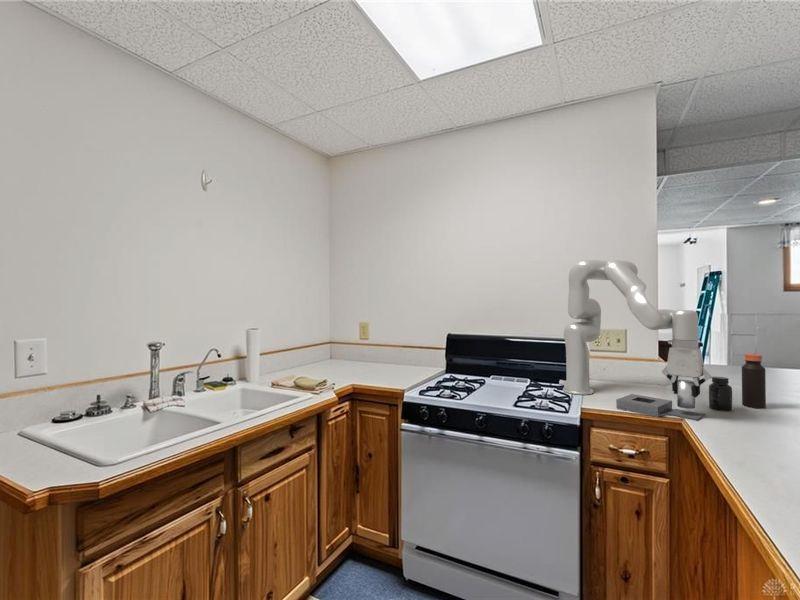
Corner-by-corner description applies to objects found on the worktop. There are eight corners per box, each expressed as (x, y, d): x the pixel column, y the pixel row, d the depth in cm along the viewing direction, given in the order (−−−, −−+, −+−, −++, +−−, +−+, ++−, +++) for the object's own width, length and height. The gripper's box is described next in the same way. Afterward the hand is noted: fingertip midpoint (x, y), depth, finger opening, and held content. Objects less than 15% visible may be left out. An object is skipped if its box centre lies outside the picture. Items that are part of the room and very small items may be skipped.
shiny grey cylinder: (675, 406, 139) (674, 380, 139) (680, 404, 143) (679, 378, 143) (692, 409, 135) (692, 383, 135) (697, 407, 138) (696, 381, 138)
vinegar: (770, 409, 145) (769, 356, 145) (749, 408, 147) (748, 355, 147) (757, 404, 152) (757, 353, 152) (737, 403, 153) (737, 353, 153)
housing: (616, 408, 148) (616, 399, 148) (631, 402, 157) (631, 393, 157) (657, 417, 137) (657, 407, 137) (672, 409, 146) (672, 400, 146)
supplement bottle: (736, 412, 142) (736, 379, 142) (715, 411, 144) (715, 379, 144) (725, 407, 149) (724, 376, 149) (705, 406, 150) (704, 375, 150)
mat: (666, 414, 140) (666, 413, 140) (675, 410, 145) (675, 408, 145) (697, 420, 133) (697, 419, 133) (705, 415, 138) (705, 414, 138)
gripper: (654, 343, 143) (655, 392, 143) (711, 347, 130) (712, 401, 130) (661, 341, 148) (662, 389, 148) (718, 345, 135) (719, 397, 134)
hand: (685, 394), depth 139 cm, fingers closed on shiny grey cylinder, 5 cm apart
